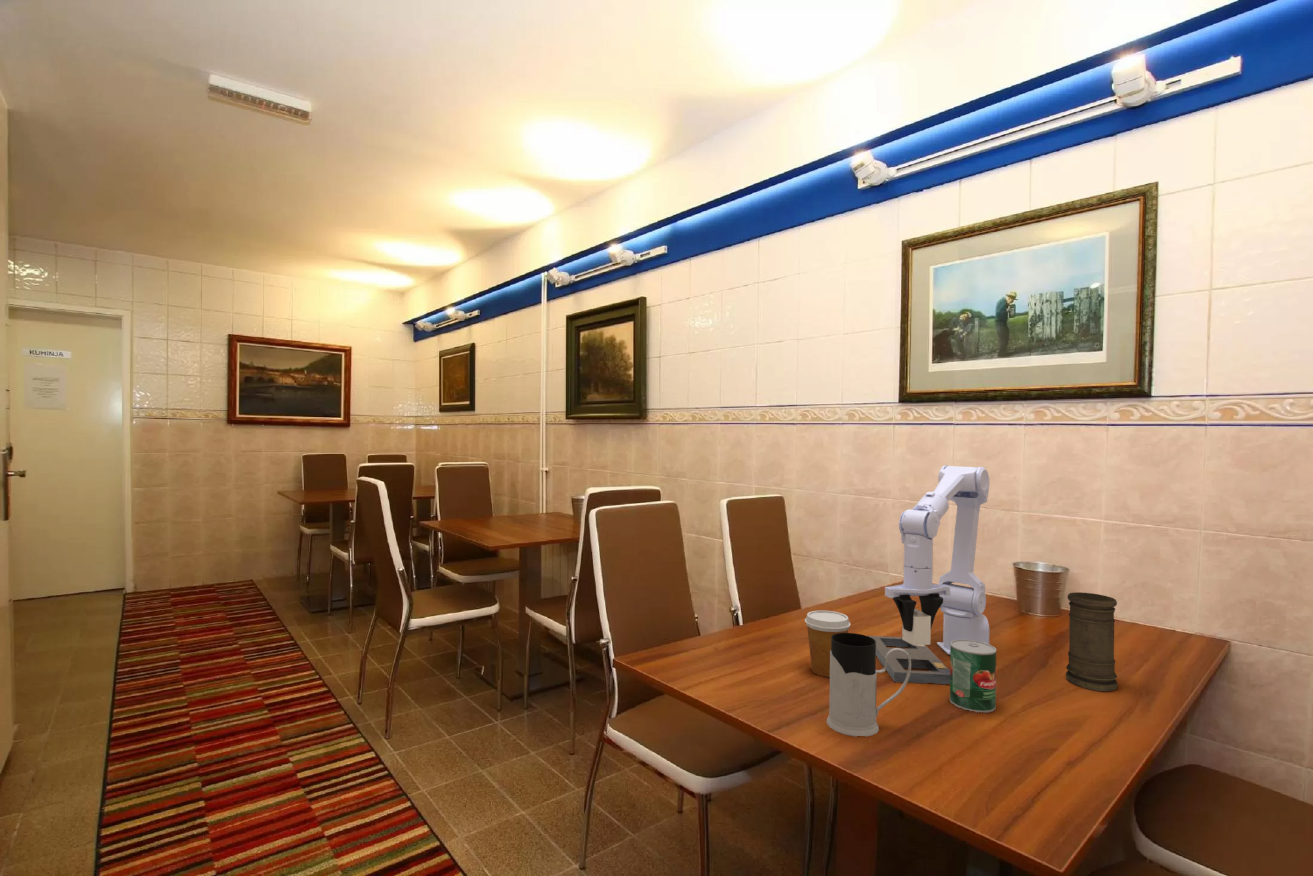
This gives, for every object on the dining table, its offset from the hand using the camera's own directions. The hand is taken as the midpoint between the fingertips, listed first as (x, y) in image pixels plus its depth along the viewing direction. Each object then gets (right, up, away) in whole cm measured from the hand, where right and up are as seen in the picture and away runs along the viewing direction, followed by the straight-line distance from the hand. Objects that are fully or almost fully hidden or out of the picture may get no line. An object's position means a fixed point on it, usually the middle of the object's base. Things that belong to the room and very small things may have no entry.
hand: (917, 629), depth 133 cm
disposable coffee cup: (-19, -10, +1) cm, 21 cm away
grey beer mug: (-19, -10, -24) cm, 32 cm away
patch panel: (+1, -10, +7) cm, 12 cm away
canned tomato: (+4, -10, -15) cm, 18 cm away
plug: (0, -3, 0) cm, 3 cm away
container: (+35, -10, -4) cm, 36 cm away
